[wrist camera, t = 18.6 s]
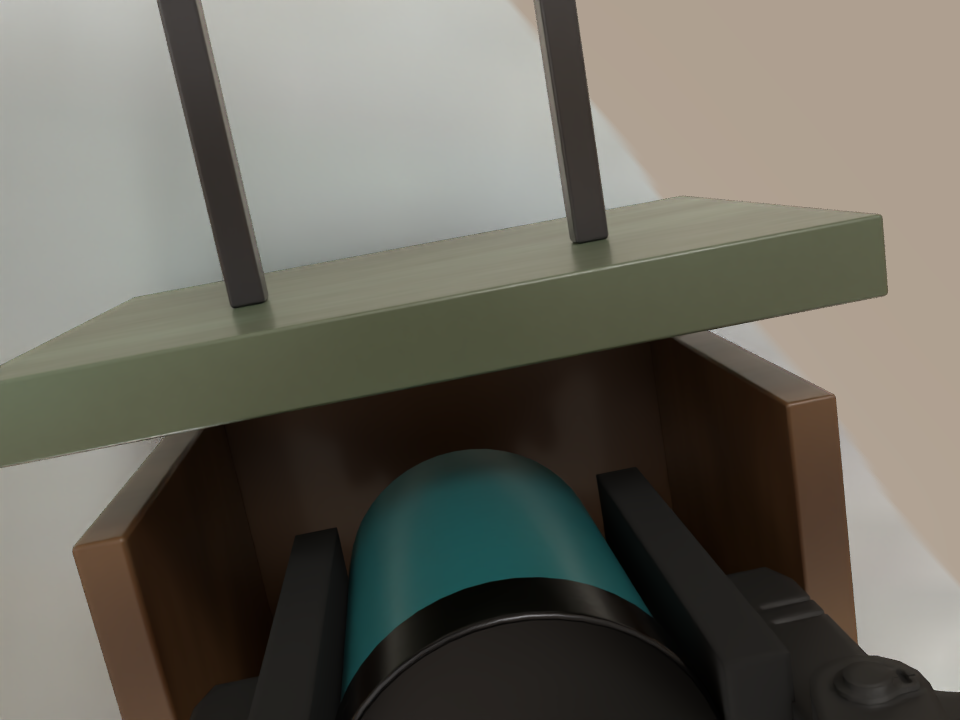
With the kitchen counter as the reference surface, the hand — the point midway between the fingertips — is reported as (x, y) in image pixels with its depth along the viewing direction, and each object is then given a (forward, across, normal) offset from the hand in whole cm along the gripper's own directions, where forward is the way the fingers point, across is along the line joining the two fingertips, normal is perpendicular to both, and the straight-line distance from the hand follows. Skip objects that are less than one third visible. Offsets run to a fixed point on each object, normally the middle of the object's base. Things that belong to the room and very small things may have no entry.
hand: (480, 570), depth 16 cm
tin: (0, 0, 0) cm, 0 cm away
